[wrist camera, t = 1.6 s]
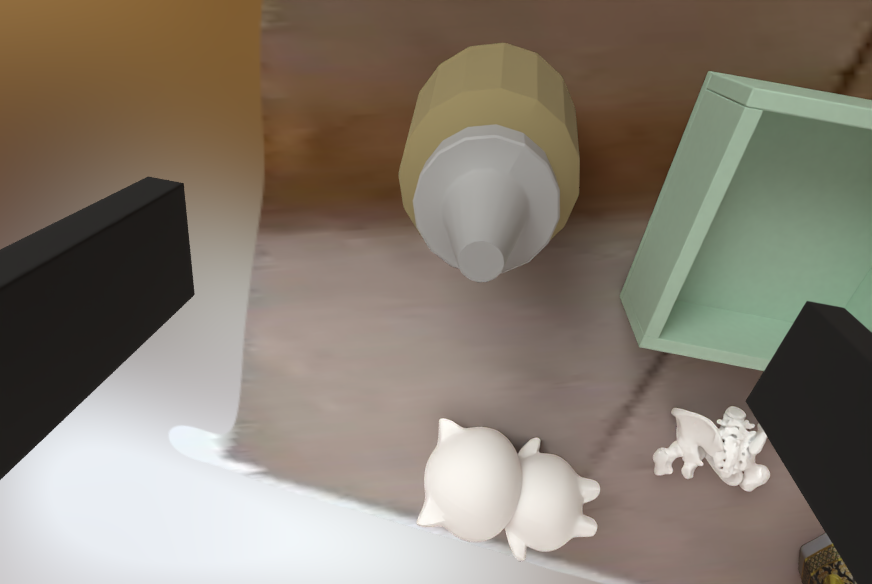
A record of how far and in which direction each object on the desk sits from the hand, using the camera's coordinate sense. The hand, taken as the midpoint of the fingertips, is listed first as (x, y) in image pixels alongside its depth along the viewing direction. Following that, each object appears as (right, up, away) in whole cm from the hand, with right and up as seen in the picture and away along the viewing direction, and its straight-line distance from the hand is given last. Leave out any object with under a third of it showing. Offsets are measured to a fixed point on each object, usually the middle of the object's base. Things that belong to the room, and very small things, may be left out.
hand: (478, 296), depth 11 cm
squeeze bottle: (+2, +10, +18) cm, 20 cm away
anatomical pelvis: (+19, -10, +27) cm, 34 cm away
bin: (+19, +4, +18) cm, 26 cm away
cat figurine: (+4, -13, +30) cm, 33 cm away
